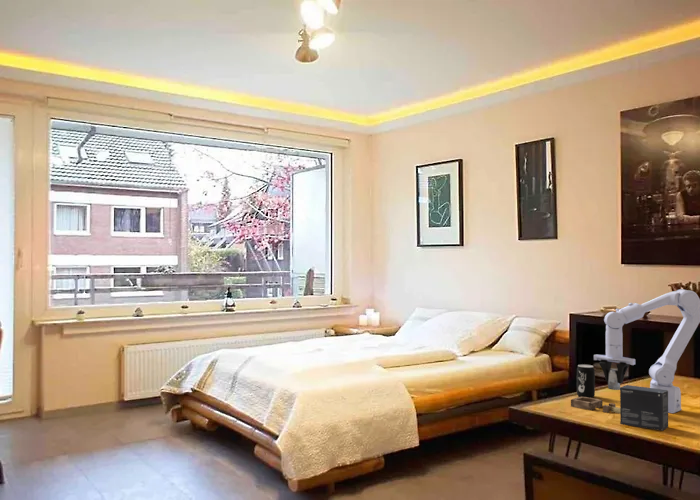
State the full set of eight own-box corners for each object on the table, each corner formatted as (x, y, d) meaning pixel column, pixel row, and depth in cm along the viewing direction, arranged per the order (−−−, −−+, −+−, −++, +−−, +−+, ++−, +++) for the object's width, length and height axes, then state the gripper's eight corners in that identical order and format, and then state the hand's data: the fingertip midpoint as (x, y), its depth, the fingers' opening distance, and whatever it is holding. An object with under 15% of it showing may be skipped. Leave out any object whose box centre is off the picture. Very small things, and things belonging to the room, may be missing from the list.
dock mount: (616, 409, 218) (616, 402, 218) (606, 413, 213) (606, 406, 213) (581, 403, 228) (581, 396, 228) (570, 406, 223) (570, 399, 223)
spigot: (622, 388, 223) (622, 369, 223) (617, 390, 220) (617, 370, 220) (611, 387, 226) (611, 368, 226) (606, 388, 223) (606, 369, 223)
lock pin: (634, 414, 211) (634, 404, 211) (631, 415, 209) (631, 405, 209) (608, 410, 217) (608, 399, 218) (605, 410, 216) (605, 400, 216)
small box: (669, 427, 196) (669, 389, 196) (663, 431, 190) (663, 393, 191) (626, 419, 204) (626, 384, 205) (619, 423, 199) (619, 387, 199)
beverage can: (596, 398, 235) (596, 367, 236) (578, 397, 237) (578, 366, 237) (593, 395, 242) (592, 364, 242) (575, 394, 243) (575, 364, 243)
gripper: (589, 343, 226) (589, 380, 226) (629, 348, 215) (629, 386, 215) (598, 342, 231) (598, 378, 230) (637, 346, 220) (638, 384, 220)
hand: (614, 382), depth 223 cm, fingers closed on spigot, 4 cm apart
